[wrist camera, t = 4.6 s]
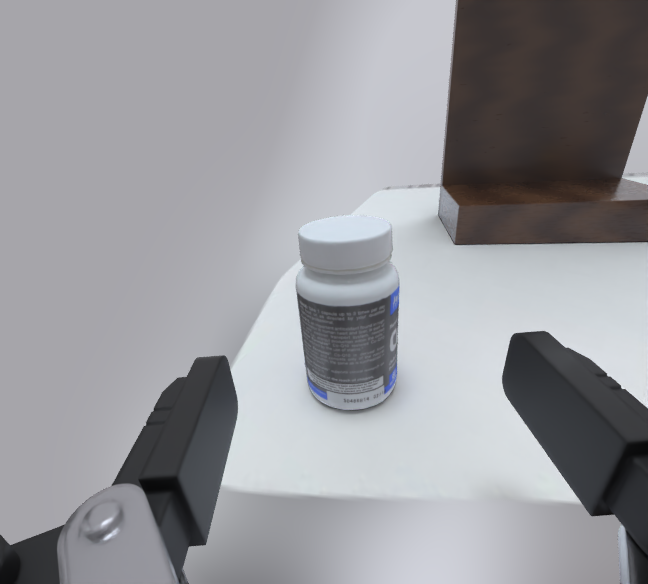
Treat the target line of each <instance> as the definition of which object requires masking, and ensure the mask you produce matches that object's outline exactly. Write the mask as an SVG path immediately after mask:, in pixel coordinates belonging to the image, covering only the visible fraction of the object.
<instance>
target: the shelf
mask: <svg viewBox="0 0 648 584" xmlns="http://www.w3.org/2000/svg"><path fill="white" fill-rule="evenodd" d="M647 96H648V0H456V8H455V20H454V32H453V44H452V56H451V68H450V79H449V91H448V104H447V116H446V127H445V139H444V151H443V163H442V175H441V187H440V199H439V210H438V215H439V217H440V218H441V220H442V222H443V224H444V226H445V227H446V229H447V231H448V233H449V235H450V236H451V238H452V240H453V242H454V244H512V243H578V242H644V241H648V185H646V184H642V183H638V182H634V181H630V180H627V179H623V178H622V175H623V171H624V168H625V165H626V162H627V159H628V156H629V153H630V149H631V146H632V143H633V140H634V137H635V134H636V130H637V127H638V124H639V121H640V118H641V114H642V111H643V108H644V105H645V102H646V99H647Z"/></svg>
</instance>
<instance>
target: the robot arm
mask: <svg viewBox="0 0 648 584" xmlns="http://www.w3.org/2000/svg"><path fill="white" fill-rule="evenodd" d="M502 383H503V389H504V392H505V394H506V396H507V398H508V400H509V401H510V403H511V404H512V405H513V407H514V408H515V410H516V411H517V412H518V414H519V415H520V417H521V418H522V419H523V421H524V422H525V424H526V425H527V426H528V428H529V429H530V431H531V432H532V434H533V435H534V436H535V438H536V439H537V441H538V442H539V443H540V445H541V446H542V448H543V449H544V450H545V452H546V453H547V455H548V456H549V458H550V459H551V460H552V462H553V463H554V465H555V466H556V467H557V469H558V470H559V472H560V473H561V474H562V476H563V477H564V479H565V480H566V481H567V483H568V484H569V486H570V487H571V489H572V490H573V491H574V493H575V494H576V496H577V497H578V498H579V500H580V501H581V503H582V504H583V505H584V507H585V508H586V510H587V511H588V512H589V514H590V515H591V516H600V515H614V514H615V516H616V517H617V518H618V520H619V521H620V522H621V524H622V525H621V527H620V528H619V531H618V546H619V569H620V584H648V408H646V407H645V406H644V405H643V404H642V403H641V402H639V401H638V400H637V399H636V398H635V397H634V396H632V395H631V394H630V393H629V392H628V391H627V390H625V389H622V388H621V385H619V384H618V383H617V382H616V381H615V380H614V379H612V378H611V377H608V376H607V373H605V372H604V371H603V370H602V369H601V368H600V367H598V366H597V365H596V364H595V363H594V362H593V361H591V360H590V359H589V358H587V357H585V356H583V355H581V354H579V353H577V352H575V351H573V350H571V349H570V348H565V347H564V346H563V345H562V344H560V343H559V342H558V341H557V340H556V339H555V338H554V337H553V336H551V335H550V334H549V333H548V332H545V331H537V332H525V333H515V334H514V335H513V336H512V337H511V340H510V344H509V348H508V353H507V357H506V362H505V366H504V371H503V376H502ZM237 413H238V401H237V395H236V391H235V387H234V383H233V379H232V375H231V371H230V367H229V363H228V360H227V358H226V356H211V357H199V358H196V360H195V361H194V363H193V365H192V367H191V370H190V372H189V373H188V375H187V377H182V378H177V379H176V380H175V381H174V382H173V383H172V384H171V385H170V386H168V387H167V388H166V389H165V390H164V391H163V392H162V394H161V396H160V398H159V400H158V402H157V403H156V405H155V407H154V411H153V412H151V414H150V416H149V418H148V420H147V422H146V426H144V427H143V429H142V431H141V433H140V435H139V436H138V438H137V440H136V442H135V444H134V446H133V447H132V449H131V451H130V453H129V455H128V457H127V458H126V460H125V462H124V464H123V466H122V468H121V470H120V471H119V473H118V475H117V477H116V479H115V481H114V483H113V484H112V486H111V487H108V488H106V489H104V490H102V491H100V492H98V493H96V494H95V495H93V496H92V497H90V498H89V499H88V500H86V501H85V502H84V503H83V504H82V505H81V506H80V507H79V508H77V510H76V511H75V512H74V513H73V514H72V515H71V517H70V518H69V519H68V521H67V522H66V524H65V525H62V526H60V527H57V528H55V529H52V530H50V531H47V532H45V533H42V534H39V535H36V536H34V537H31V538H29V539H26V540H23V541H21V542H18V543H15V544H13V545H9V544H8V543H7V542H6V541H5V539H4V538H3V537H2V536H1V535H0V584H189V583H188V581H187V578H186V575H185V573H184V570H183V565H184V561H185V557H186V554H187V551H188V547H189V546H199V545H206V542H207V538H208V534H209V529H210V526H211V522H212V518H213V513H214V510H215V505H216V501H217V497H218V493H219V489H220V485H221V481H222V477H223V473H224V469H225V465H226V461H227V457H228V453H229V448H230V444H231V440H232V436H233V432H234V428H235V424H236V420H237Z"/></svg>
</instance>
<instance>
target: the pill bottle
mask: <svg viewBox="0 0 648 584" xmlns="http://www.w3.org/2000/svg"><path fill="white" fill-rule="evenodd" d="M298 236H299V248H300V256H301V262H302V264H303V265H304V266H303V267H302V268H301V269H300V271H299V273H298V275H297V277H296V292H297V300H298V308H299V316H300V324H301V332H302V341H303V349H304V357H305V367H306V373H307V381H308V385H309V388H310V390H311V392H312V393H313V395H314V396H315V397H316V398H317V399H318V400H319V401H321V402H323V403H324V404H326V405H328V406H331V407H334V408H337V409H342V410H358V409H364V408H368V407H371V406H374V405H377V404H379V403H380V402H382V401H383V400H384V399H386V398H387V397H388V396H389V395H390V393H391V392H392V390H393V388H394V386H395V383H396V375H397V344H398V310H399V309H398V307H399V275H398V272H397V269H396V268H395V266H394V265H393V264H392V263H391V262H390V259H391V256H392V255H391V253H392V250H393V246H392V226H391V224H390V222H389V221H387V220H385V219H382V218H378V217H373V216H365V215H348V216H334V217H328V218H325V219H320V220H316V221H313V222H310V223H308V224H306V225H304V226H303V227H301V228H300V230H299V233H298Z"/></svg>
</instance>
